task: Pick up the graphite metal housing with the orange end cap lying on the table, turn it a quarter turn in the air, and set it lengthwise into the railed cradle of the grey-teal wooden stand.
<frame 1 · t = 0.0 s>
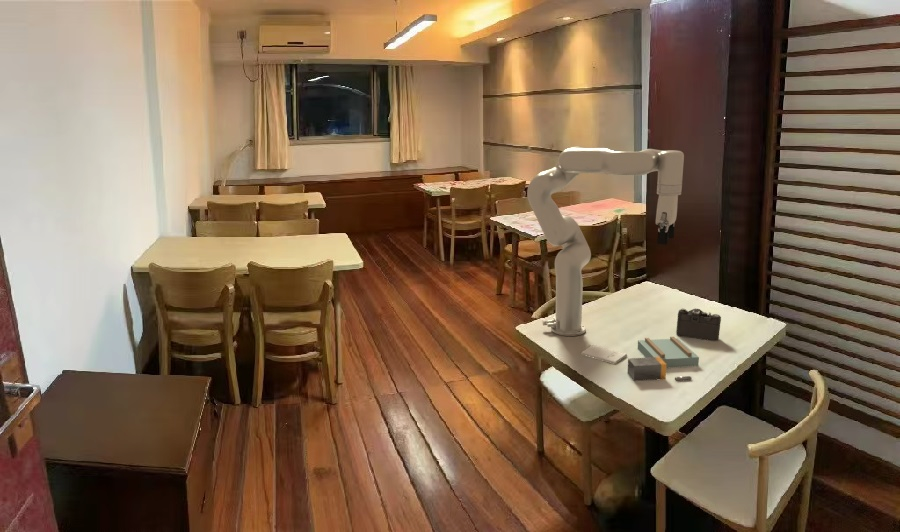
hand: (665, 240, 210), 37 cm above the table, tool pointing down, fingers open, 9 cm apart
camera: (697, 334, 230), on the table
grey metal rounded bar: (683, 380, 195), on the table
stand: (666, 356, 211), on the table
external hard drive: (603, 357, 214), on the table
housing: (646, 376, 198), on the table
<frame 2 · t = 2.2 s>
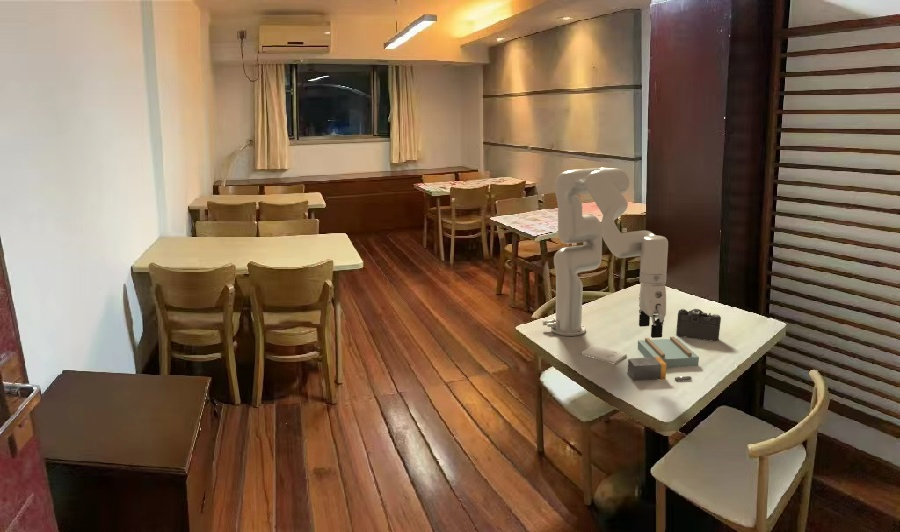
hand: (650, 331, 193), 15 cm above the table, tool pointing down, fingers open, 9 cm apart
nothing on the table moved.
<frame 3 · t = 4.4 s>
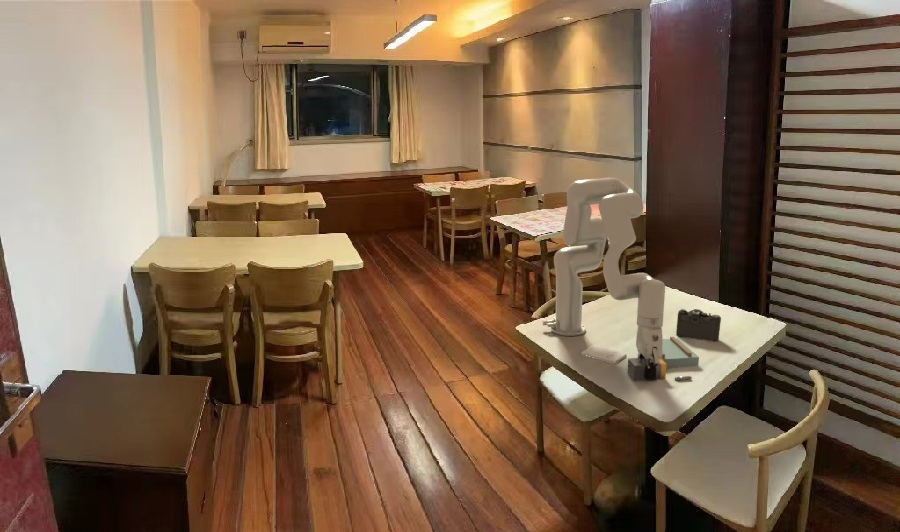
hand: (646, 374, 198), 1 cm above the table, tool pointing down, fingers closed on housing, 5 cm apart
housing: (646, 376, 198), on the table, touching gripper
everything else where it was.
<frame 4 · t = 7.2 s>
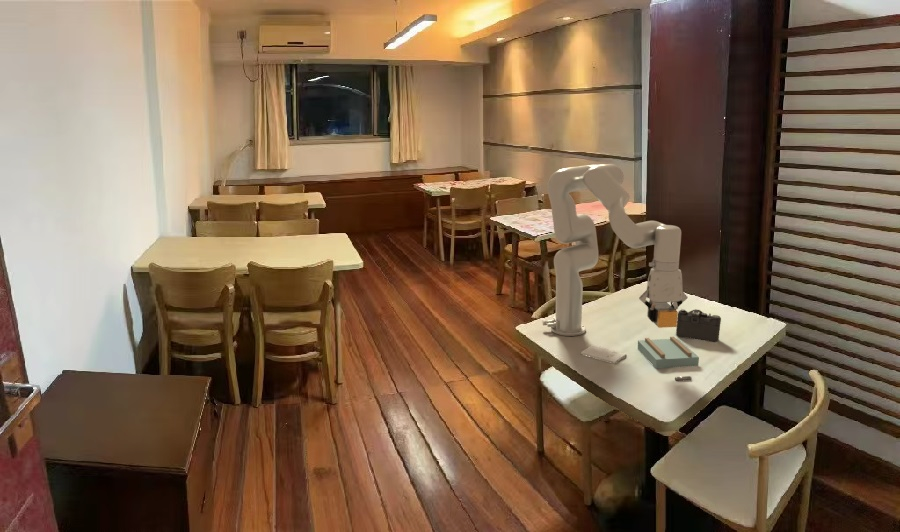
hand: (661, 319, 202), 15 cm above the table, tool pointing down, fingers closed on housing, 5 cm apart
housing: (661, 321, 202), point 15 cm above the table, touching gripper
everything else where it was.
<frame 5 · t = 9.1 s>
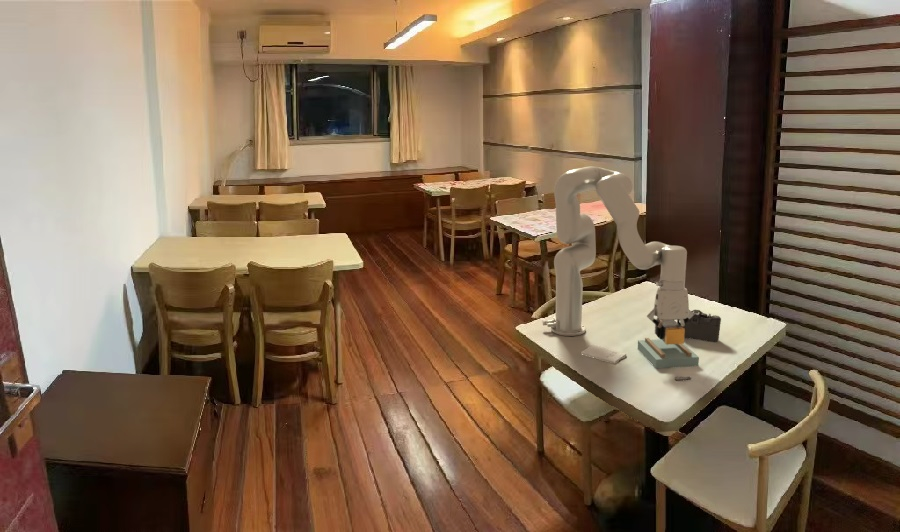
hand: (668, 336, 209), 7 cm above the table, tool pointing down, fingers closed on housing, 5 cm apart
housing: (668, 338, 209), point 7 cm above the table, touching gripper
when the fingers open (5 cm above the table, at t = 10.4 s): housing drops 1 cm, resting on stand.
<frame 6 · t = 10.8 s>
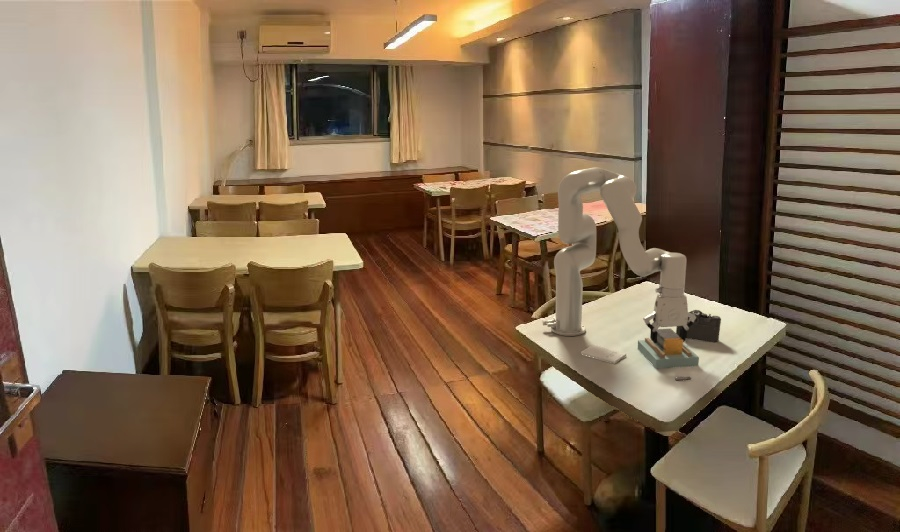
hand: (668, 340, 210), 6 cm above the table, tool pointing down, fingers open, 9 cm apart
housing: (667, 348, 210), point 3 cm above the table, touching stand
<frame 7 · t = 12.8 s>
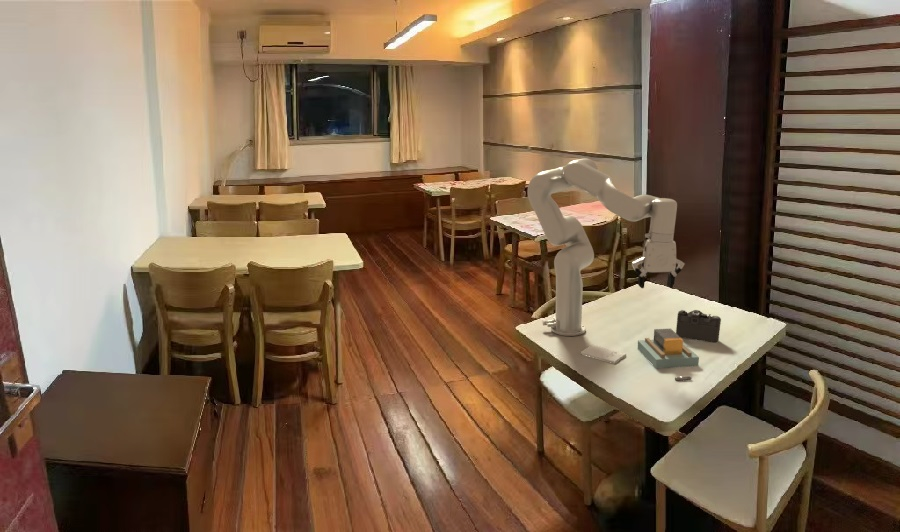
hand: (655, 286, 211), 22 cm above the table, tool pointing down, fingers open, 9 cm apart
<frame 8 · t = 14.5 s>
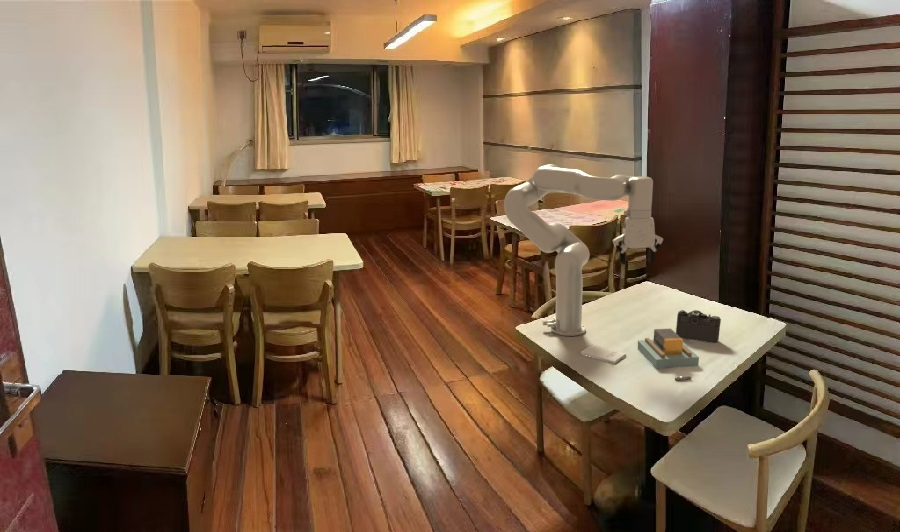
hand: (636, 262, 219), 28 cm above the table, tool pointing down, fingers open, 9 cm apart
at the end: housing 0.0 cm off-centre on the stand, point 3.0 cm above the stand's base; housing tilted 0°; the gripper is holding nothing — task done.
